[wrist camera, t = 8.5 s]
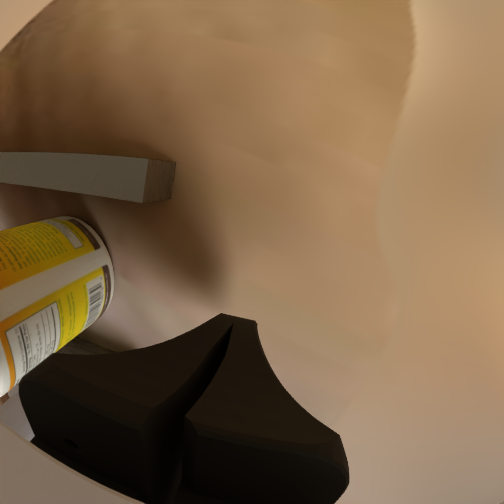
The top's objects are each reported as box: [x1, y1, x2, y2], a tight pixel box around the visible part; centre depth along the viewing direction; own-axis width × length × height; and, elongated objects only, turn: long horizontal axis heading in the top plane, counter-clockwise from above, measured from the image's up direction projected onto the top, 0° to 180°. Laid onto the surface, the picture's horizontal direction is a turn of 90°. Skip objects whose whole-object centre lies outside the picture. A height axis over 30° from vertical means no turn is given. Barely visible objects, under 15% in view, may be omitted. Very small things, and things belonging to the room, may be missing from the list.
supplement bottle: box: [0, 216, 114, 397], centre depth 9 cm, size 6×6×10 cm
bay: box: [0, 152, 176, 355], centre depth 12 cm, size 12×20×3 cm, turn 80°
